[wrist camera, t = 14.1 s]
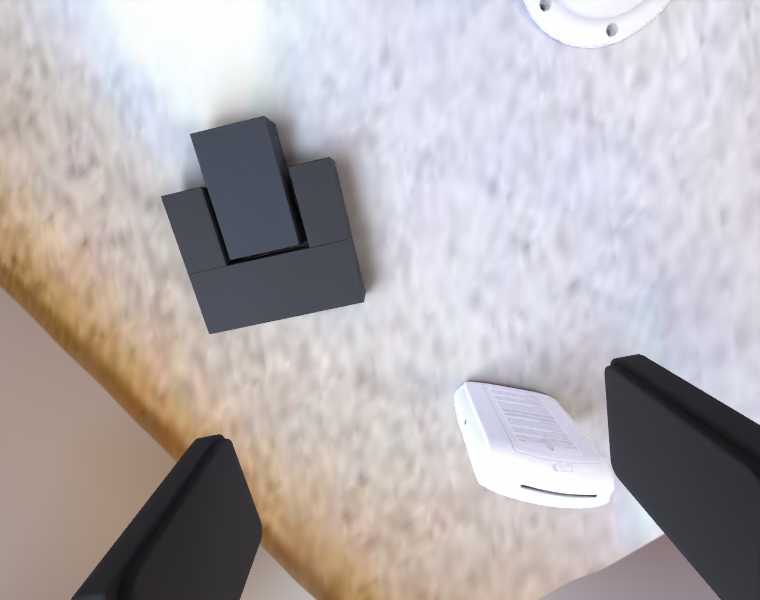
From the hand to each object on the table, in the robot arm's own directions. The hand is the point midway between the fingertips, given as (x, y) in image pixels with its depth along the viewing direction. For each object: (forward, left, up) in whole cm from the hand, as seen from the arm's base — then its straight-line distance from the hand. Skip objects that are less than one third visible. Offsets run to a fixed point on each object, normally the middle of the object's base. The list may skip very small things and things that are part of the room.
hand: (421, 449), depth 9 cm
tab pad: (-9, -10, -26) cm, 30 cm away
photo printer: (+16, +8, -26) cm, 32 cm away
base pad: (-4, -10, -26) cm, 28 cm away
